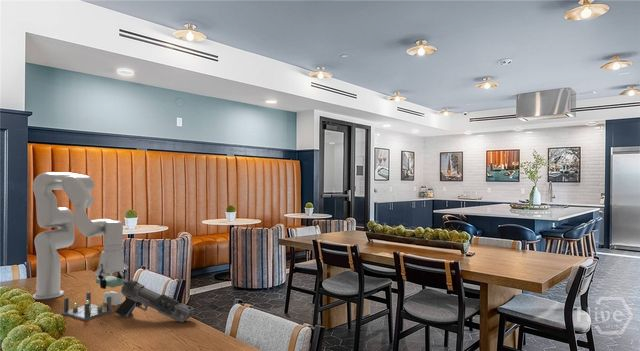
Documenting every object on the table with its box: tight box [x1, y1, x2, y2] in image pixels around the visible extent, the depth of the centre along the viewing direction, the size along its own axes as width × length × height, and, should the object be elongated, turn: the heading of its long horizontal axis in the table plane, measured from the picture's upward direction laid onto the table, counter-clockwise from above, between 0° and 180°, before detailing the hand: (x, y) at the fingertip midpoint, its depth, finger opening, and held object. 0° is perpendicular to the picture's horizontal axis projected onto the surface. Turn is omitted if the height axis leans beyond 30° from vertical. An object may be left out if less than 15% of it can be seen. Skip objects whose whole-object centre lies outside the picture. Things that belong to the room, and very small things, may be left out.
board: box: [95, 275, 128, 289], centre depth 183 cm, size 12×7×2 cm, turn 61°
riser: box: [102, 290, 123, 307], centre depth 182 cm, size 8×4×4 cm, turn 61°
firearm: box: [114, 279, 195, 323], centre depth 163 cm, size 4×33×15 cm, turn 79°
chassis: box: [61, 291, 114, 321], centre depth 169 cm, size 16×12×6 cm
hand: (111, 286), depth 183 cm, fingers closed on board, 7 cm apart
